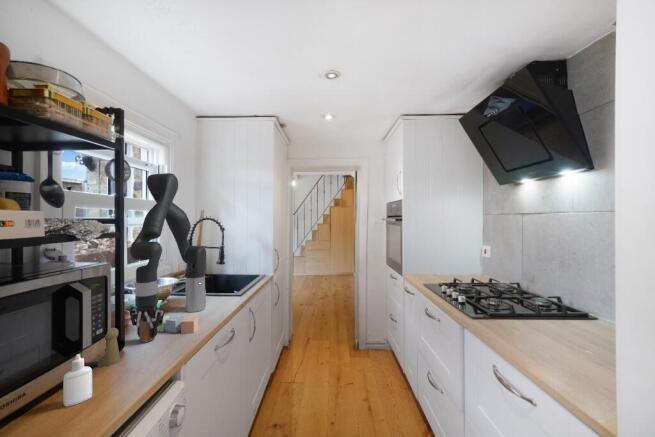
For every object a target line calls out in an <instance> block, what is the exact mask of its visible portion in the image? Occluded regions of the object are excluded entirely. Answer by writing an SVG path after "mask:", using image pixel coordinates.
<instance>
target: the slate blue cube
mask: <svg viewBox="0 0 655 437" xmlns="http://www.w3.org/2000/svg"><path fill="white" fill-rule="evenodd" d="M184 319H185V317H184V316H179V315H177V316H176V315H175V316H172V317H170V318H169V319H167V320H166V330H165V333H174V334H176V333H178V332H181V321H183V320H184Z"/></svg>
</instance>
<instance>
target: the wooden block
mask: <svg viewBox="0 0 655 437" xmlns="http://www.w3.org/2000/svg"><path fill="white" fill-rule="evenodd" d="M152 319H153V318H152ZM152 319H151V320H152ZM153 324H154V321H153ZM139 328H140V337H139V341H140V342H142V343H147V342H150V341H154V340H156V336H155V337H154V338H151V337H150V329H151V327H150V324H149V323H148V321H147V320H146V319H144V320H141V321H140V323H139Z"/></svg>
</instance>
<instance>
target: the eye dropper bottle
mask: <svg viewBox="0 0 655 437" xmlns="http://www.w3.org/2000/svg"><path fill="white" fill-rule="evenodd" d="M62 384H63V394H62V395H63V399H62V400H63V406H64V407H72V406H75V405H78V404H81V403H84V402H86V401H88V400H90V399H91V398H92V397H93V370H92V368H91V367H90V366H85V358H83V357H81V354H80V353H79V354H76V355H75V359H73V360H72V361H71V370H69V371H68V372H66V373H65V374H64V375H63V383H62Z"/></svg>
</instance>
